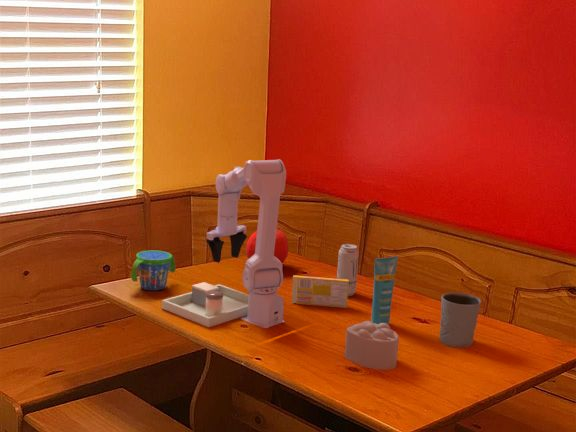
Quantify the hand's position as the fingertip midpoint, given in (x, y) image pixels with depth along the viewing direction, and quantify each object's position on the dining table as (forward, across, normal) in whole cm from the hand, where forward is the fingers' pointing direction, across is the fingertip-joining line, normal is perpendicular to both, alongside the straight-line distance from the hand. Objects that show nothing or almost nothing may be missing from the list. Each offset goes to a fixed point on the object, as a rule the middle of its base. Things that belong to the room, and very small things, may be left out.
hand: (225, 259), depth 247 cm
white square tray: (+10, +14, +10) cm, 20 cm away
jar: (+9, +19, +15) cm, 26 cm away
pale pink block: (+9, +13, +5) cm, 17 cm away
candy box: (+10, -13, +26) cm, 31 cm away
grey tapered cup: (+10, -19, +68) cm, 71 cm away
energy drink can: (+10, -27, +25) cm, 38 cm away
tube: (+10, -14, +47) cm, 50 cm away
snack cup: (+10, +14, -16) cm, 24 cm away
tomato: (+10, -27, -8) cm, 30 cm away
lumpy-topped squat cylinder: (+10, +8, +60) cm, 61 cm away
